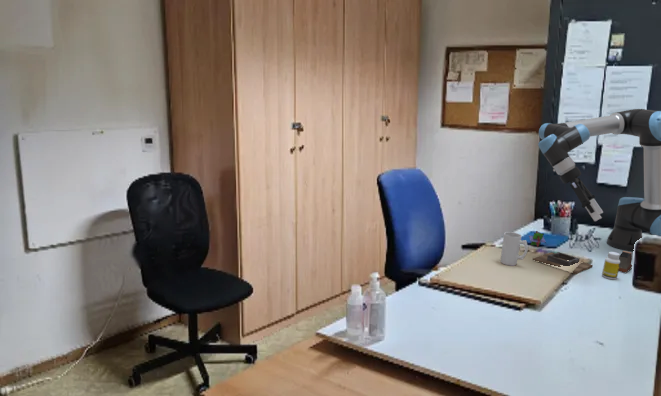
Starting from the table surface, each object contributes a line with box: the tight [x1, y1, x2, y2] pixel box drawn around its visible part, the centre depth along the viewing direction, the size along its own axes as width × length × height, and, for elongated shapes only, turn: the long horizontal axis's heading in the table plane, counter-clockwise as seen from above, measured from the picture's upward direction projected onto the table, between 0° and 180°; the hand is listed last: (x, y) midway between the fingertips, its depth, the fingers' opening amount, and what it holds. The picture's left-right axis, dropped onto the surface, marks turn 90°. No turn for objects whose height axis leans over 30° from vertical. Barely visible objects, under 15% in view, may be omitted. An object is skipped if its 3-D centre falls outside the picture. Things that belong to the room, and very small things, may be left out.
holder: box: [532, 251, 594, 275], centre depth 233 cm, size 15×18×3 cm
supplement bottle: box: [601, 251, 621, 280], centre depth 221 cm, size 5×5×10 cm
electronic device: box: [618, 250, 633, 273], centre depth 231 cm, size 4×10×8 cm, turn 141°
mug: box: [500, 231, 529, 266], centre depth 227 cm, size 10×7×12 cm, turn 53°
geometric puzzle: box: [528, 230, 547, 248], centre depth 254 cm, size 7×7×8 cm
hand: (599, 216), depth 220 cm, fingers open, 13 cm apart
